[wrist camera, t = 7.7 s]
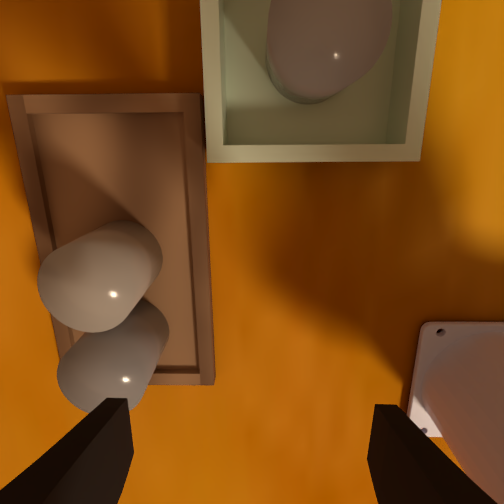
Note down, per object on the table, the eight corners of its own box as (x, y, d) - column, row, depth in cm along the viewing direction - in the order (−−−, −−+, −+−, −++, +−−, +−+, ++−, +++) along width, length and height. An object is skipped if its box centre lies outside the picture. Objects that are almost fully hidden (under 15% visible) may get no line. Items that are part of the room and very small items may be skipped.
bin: (419, -64, 14) (456, -111, 12) (394, 158, 17) (419, 161, 14) (206, -59, 15) (195, -105, 12) (215, 159, 17) (207, 162, 15)
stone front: (360, 5, 15) (401, -52, 10) (349, 106, 16) (382, 91, 12) (267, 2, 15) (271, -56, 10) (263, 103, 16) (265, 87, 12)
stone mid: (159, 219, 18) (127, 243, 14) (165, 290, 19) (138, 332, 15) (83, 220, 18) (28, 243, 14) (94, 290, 19) (47, 332, 15)
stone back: (166, 298, 19) (139, 342, 15) (171, 359, 20) (148, 416, 16) (96, 298, 19) (49, 342, 15) (105, 359, 20) (65, 416, 16)
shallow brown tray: (202, 95, 16) (199, 92, 16) (215, 376, 21) (213, 385, 20) (17, 97, 17) (5, 95, 16) (72, 375, 21) (65, 384, 21)
